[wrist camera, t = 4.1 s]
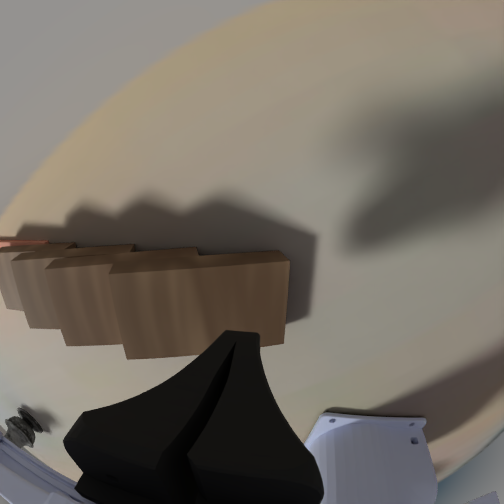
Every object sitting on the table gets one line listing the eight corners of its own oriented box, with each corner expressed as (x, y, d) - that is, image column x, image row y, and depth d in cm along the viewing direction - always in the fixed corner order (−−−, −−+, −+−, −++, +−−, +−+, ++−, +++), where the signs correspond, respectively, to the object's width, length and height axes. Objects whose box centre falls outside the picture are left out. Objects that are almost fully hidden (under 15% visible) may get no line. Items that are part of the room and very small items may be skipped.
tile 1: (289, 260, 14) (108, 274, 12) (283, 343, 16) (126, 359, 14) (278, 250, 16) (114, 261, 14) (274, 328, 17) (129, 341, 15)
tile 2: (198, 256, 15) (44, 269, 13) (205, 336, 16) (66, 346, 14) (196, 246, 16) (54, 259, 14) (201, 322, 18) (72, 331, 16)
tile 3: (129, 252, 15) (10, 261, 14) (141, 328, 17) (29, 328, 15) (134, 243, 17) (21, 252, 15) (144, 314, 18) (38, 316, 17)
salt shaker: (50, 437, 30) (14, 487, 19) (31, 429, 31) (-4, 473, 20) (28, 410, 28) (-13, 460, 17) (11, 403, 29) (-28, 447, 18)
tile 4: (62, 250, 16) (-10, 253, 16) (80, 317, 17) (6, 308, 18) (75, 242, 17) (2, 246, 17) (90, 306, 19) (17, 300, 19)
